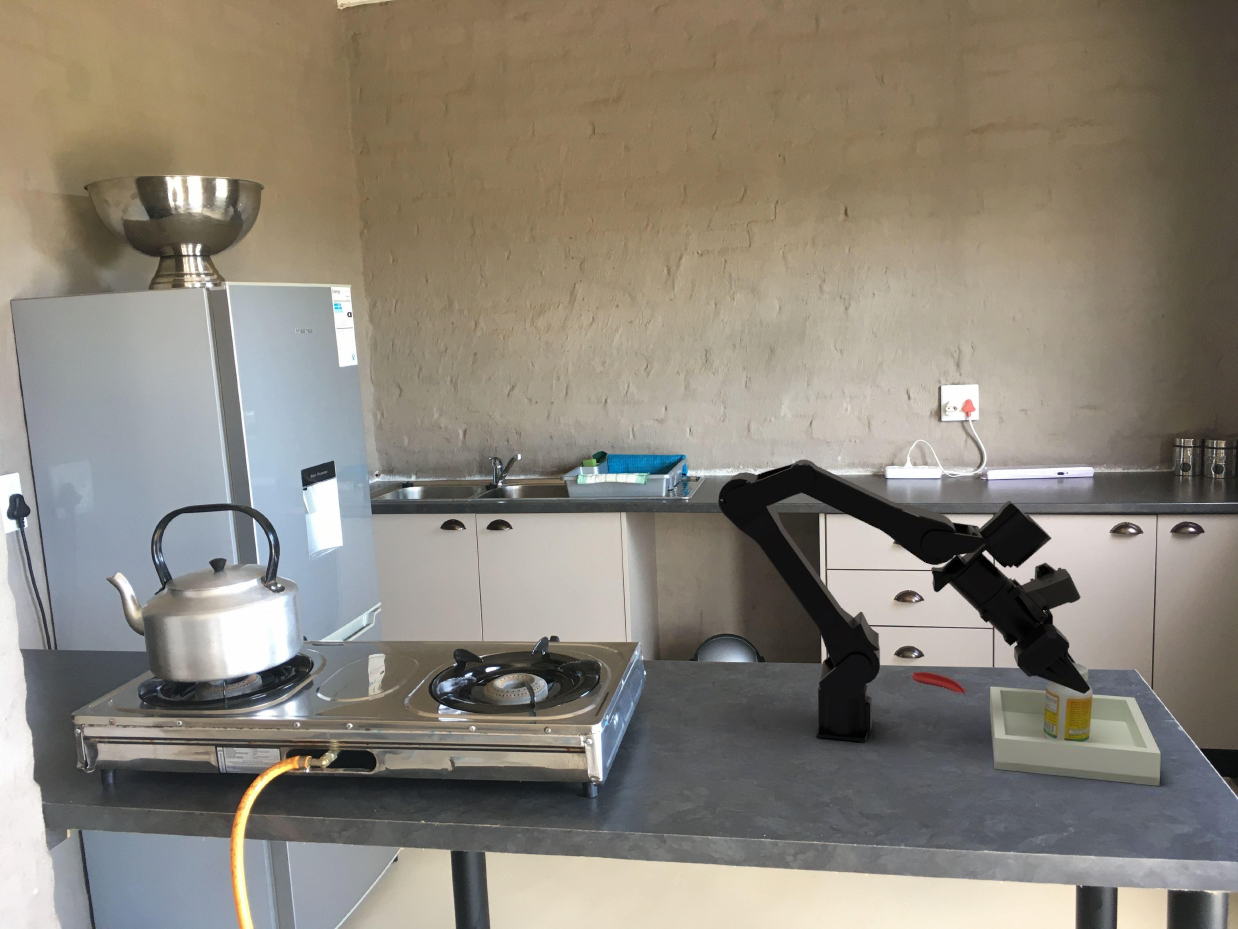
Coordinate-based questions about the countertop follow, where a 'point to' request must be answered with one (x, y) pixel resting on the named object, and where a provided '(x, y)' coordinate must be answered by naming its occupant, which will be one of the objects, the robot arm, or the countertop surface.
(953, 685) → the cayenne pepper
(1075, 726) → the supplement bottle
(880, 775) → the countertop surface
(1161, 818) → the countertop surface
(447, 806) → the countertop surface
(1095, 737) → the tray
